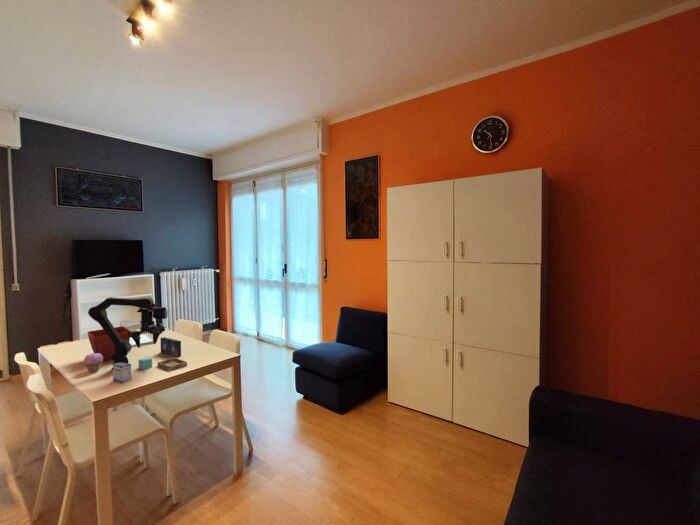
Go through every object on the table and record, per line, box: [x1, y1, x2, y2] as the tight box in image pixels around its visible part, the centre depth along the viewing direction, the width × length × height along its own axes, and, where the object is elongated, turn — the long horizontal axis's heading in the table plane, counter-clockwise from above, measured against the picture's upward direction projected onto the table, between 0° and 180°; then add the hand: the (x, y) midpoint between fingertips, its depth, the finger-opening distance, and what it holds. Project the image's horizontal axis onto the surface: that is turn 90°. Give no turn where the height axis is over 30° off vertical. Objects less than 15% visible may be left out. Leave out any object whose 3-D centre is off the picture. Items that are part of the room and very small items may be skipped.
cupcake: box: [83, 352, 104, 373], centre depth 188 cm, size 9×9×10 cm
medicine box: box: [112, 362, 132, 384], centre depth 175 cm, size 8×4×9 cm, turn 69°
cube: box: [138, 356, 153, 370], centre depth 194 cm, size 5×5×5 cm
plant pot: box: [87, 325, 131, 363], centre depth 211 cm, size 19×19×17 cm
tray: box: [157, 357, 188, 371], centre depth 196 cm, size 10×13×2 cm
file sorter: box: [119, 317, 154, 348], centre depth 246 cm, size 25×17×16 cm
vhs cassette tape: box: [160, 336, 182, 358], centre depth 218 cm, size 18×3×10 cm, turn 59°
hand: (147, 345), depth 195 cm, fingers open, 9 cm apart
